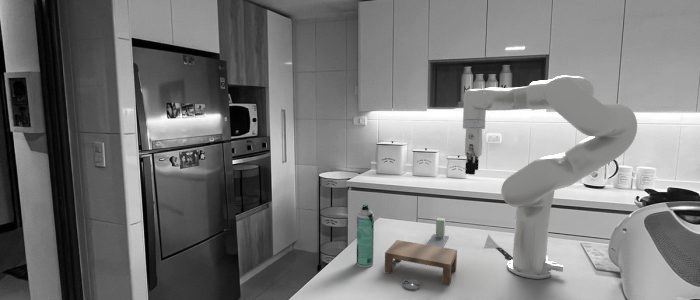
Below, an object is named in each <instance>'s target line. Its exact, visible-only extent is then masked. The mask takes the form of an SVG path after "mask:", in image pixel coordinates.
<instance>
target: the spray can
mask: <svg viewBox="0 0 700 300" xmlns="http://www.w3.org/2000/svg"><path fill="white" fill-rule="evenodd" d="M356 213H357V214H356V265H357V266H358V267H360V268H371V267H373V266H374V238H375V237H374V231H375V229H374V226H375V225H374V224H375V222H374V220H375V217H374V216H375V215H374V212H373V211H372V210H370V208H369V205H368V204H362V207H361V208H360V210H358V211H357V212H356Z"/></svg>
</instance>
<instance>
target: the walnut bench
mask: <svg viewBox="0 0 700 300" xmlns="http://www.w3.org/2000/svg"><path fill="white" fill-rule="evenodd" d="M457 256H458V249H454V248H448V247H437V246H431V245H427V244H423V243H417V242H412V241H406V240H399V239H397V240H395V242H393V243H392V244H391V246H390V247H389V248H388V249H387V250H386V251H385V252H384V273H386V274H389V275H390V274H392V273H393V271H394V261H396V262H402V261H403V262H409V263H415V264H421V265H425V266H429V267H430V266H431V267H435V268H441V269H442V285H444V286H450V285H451V281H452V272H456V271H457V262H458V261H457V259H458V257H457Z"/></svg>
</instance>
